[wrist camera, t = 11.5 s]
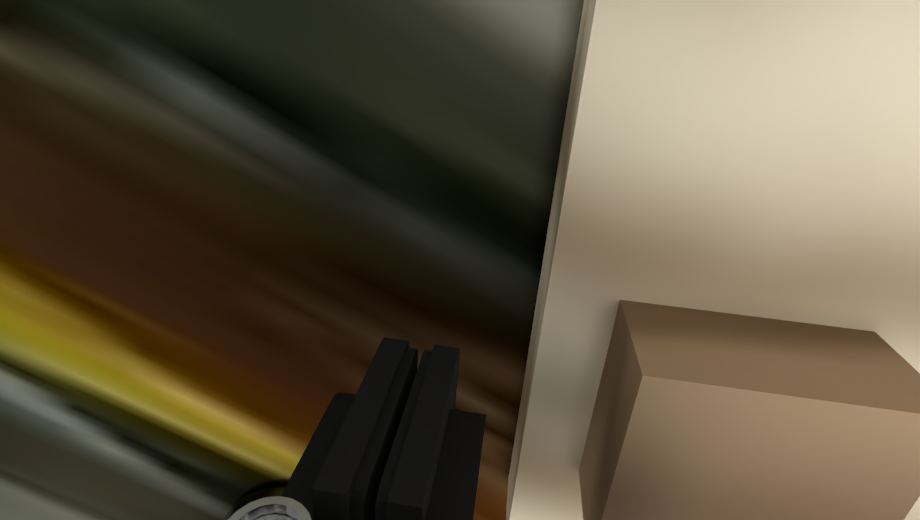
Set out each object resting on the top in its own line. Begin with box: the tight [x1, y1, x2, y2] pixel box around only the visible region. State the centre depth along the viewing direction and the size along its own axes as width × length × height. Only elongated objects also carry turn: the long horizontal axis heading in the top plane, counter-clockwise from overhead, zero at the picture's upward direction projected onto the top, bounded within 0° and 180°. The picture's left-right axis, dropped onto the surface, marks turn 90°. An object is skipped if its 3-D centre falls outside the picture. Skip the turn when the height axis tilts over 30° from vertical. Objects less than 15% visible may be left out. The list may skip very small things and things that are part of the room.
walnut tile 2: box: [579, 300, 920, 520], centre depth 10 cm, size 5×5×2 cm
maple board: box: [506, 0, 920, 520], centre depth 11 cm, size 20×12×2 cm, turn 176°
